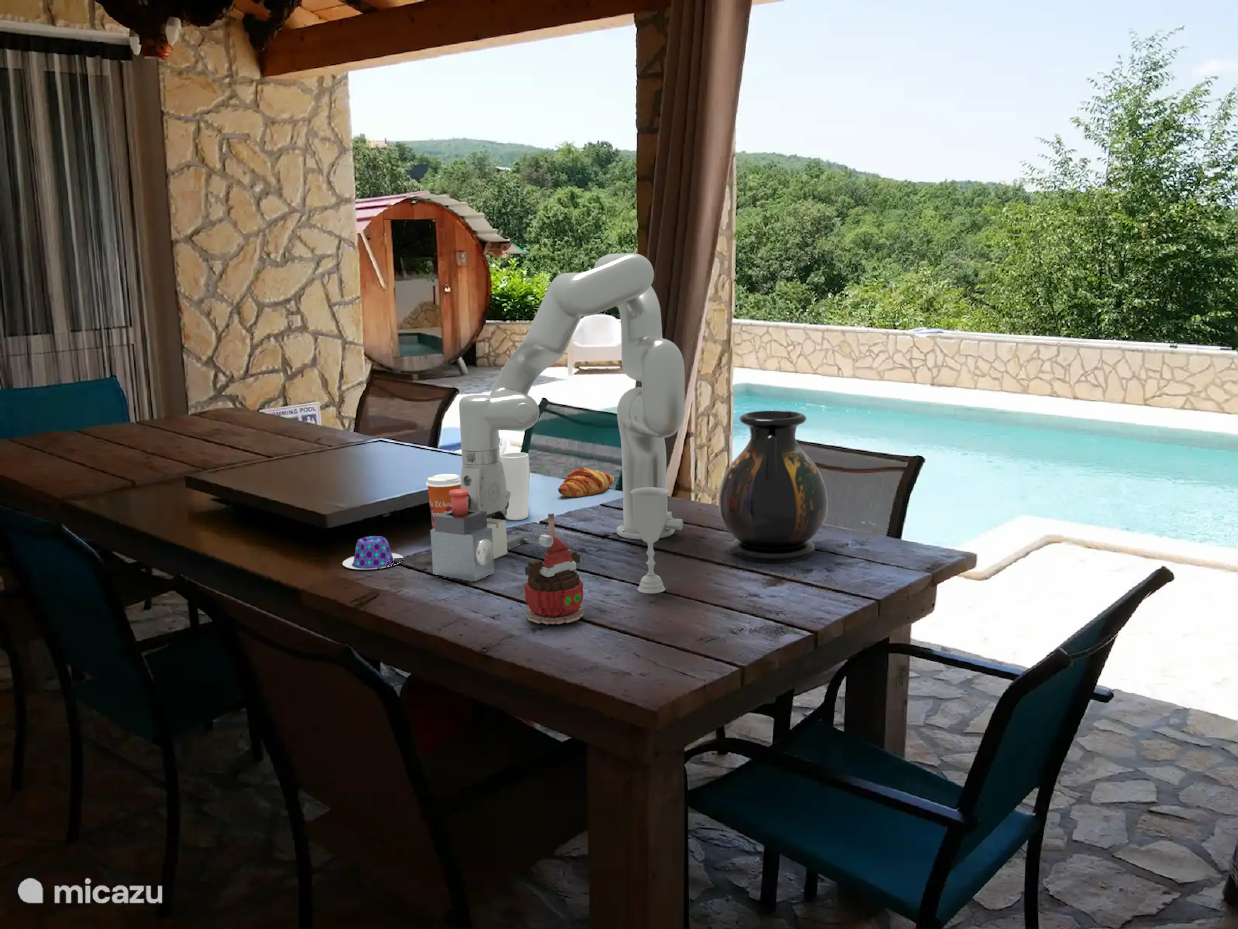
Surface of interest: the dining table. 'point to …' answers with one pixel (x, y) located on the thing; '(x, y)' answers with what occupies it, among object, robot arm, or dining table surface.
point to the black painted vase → (773, 492)
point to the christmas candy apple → (554, 583)
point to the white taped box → (498, 536)
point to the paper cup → (441, 493)
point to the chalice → (650, 529)
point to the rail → (515, 540)
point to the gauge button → (459, 502)
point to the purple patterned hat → (371, 554)
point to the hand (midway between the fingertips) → (485, 540)
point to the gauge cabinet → (462, 545)
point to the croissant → (585, 483)
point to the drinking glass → (516, 483)
